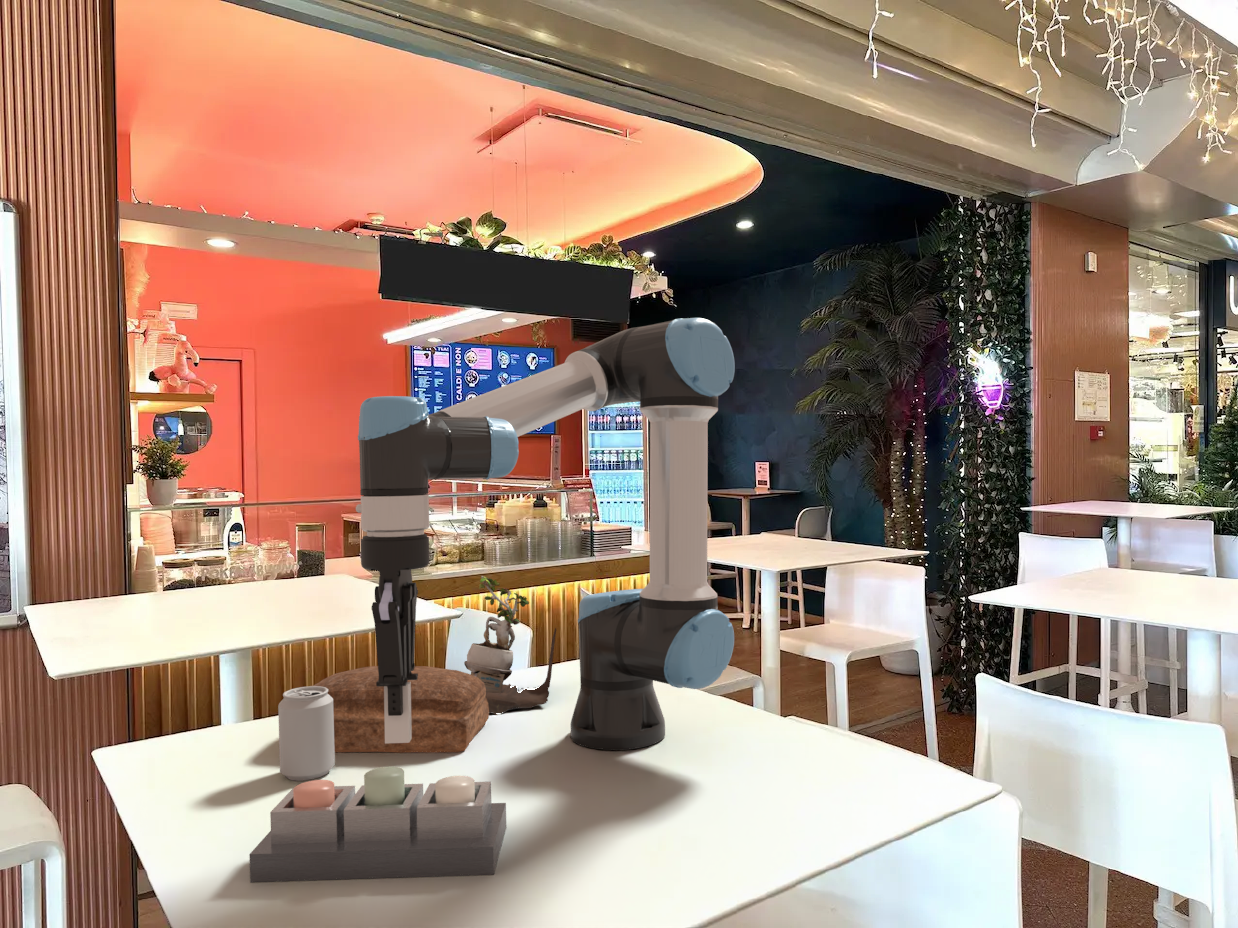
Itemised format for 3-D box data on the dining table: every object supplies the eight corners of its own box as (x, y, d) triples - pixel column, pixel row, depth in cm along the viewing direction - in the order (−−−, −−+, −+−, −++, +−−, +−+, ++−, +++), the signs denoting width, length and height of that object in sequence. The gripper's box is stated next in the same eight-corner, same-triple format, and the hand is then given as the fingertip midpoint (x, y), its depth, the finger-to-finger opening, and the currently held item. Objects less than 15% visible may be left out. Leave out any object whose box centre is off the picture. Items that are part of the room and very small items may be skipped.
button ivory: (478, 813, 102) (477, 774, 102) (472, 829, 98) (471, 789, 98) (440, 814, 102) (439, 776, 102) (432, 830, 98) (431, 790, 98)
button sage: (408, 804, 102) (407, 766, 102) (400, 820, 98) (399, 779, 98) (371, 805, 102) (370, 767, 102) (360, 821, 98) (359, 781, 98)
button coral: (340, 817, 102) (339, 779, 102) (328, 833, 98) (327, 793, 98) (302, 818, 102) (301, 780, 102) (288, 835, 98) (287, 794, 97)
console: (506, 827, 106) (505, 773, 106) (493, 874, 94) (492, 813, 94) (290, 834, 106) (289, 780, 106) (250, 882, 94) (248, 821, 94)
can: (317, 783, 122) (315, 698, 122) (269, 781, 124) (266, 696, 124) (344, 765, 130) (342, 684, 129) (298, 762, 131) (296, 682, 131)
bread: (327, 722, 152) (325, 656, 152) (493, 722, 150) (492, 655, 150) (281, 755, 135) (279, 681, 135) (468, 756, 133) (466, 681, 133)
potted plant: (445, 701, 172) (476, 576, 177) (539, 721, 173) (567, 596, 178) (435, 712, 152) (470, 571, 157) (541, 734, 154) (572, 594, 158)
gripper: (375, 529, 106) (378, 724, 106) (345, 538, 93) (349, 761, 93) (438, 528, 106) (441, 723, 106) (417, 537, 93) (420, 759, 93)
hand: (398, 740), depth 99 cm, fingers closed
